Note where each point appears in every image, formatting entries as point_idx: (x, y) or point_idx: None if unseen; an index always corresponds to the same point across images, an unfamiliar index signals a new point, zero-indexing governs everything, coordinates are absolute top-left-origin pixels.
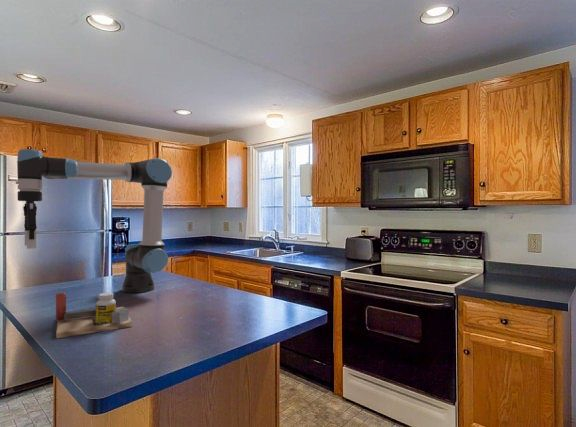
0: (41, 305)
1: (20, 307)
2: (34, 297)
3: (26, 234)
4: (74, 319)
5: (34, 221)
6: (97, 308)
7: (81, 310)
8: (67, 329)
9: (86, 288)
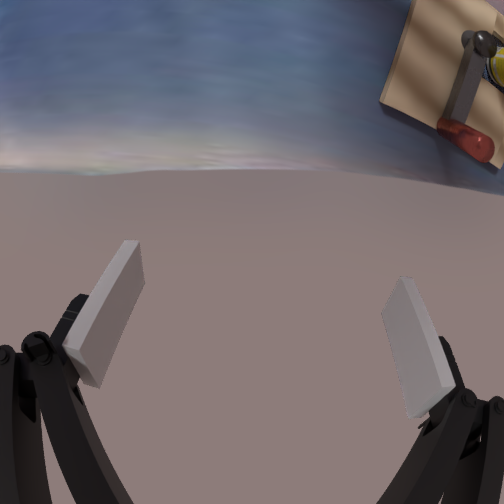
0: (163, 94)
1: (149, 145)
2: (53, 108)
3: (114, 340)
4: None
5: (498, 455)
6: None
7: (464, 85)
8: (498, 146)
9: None
